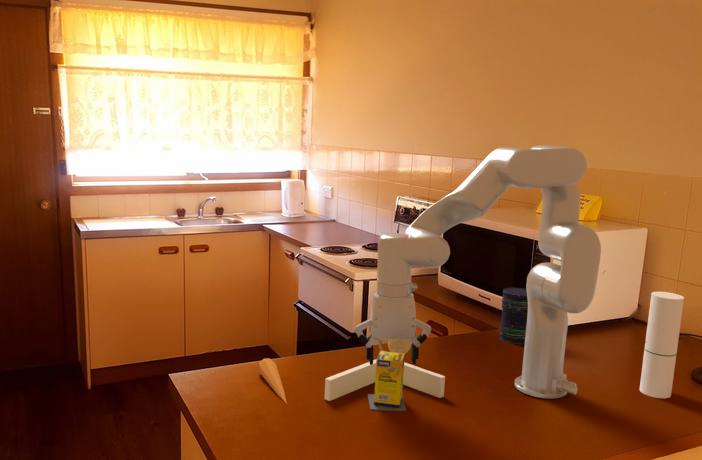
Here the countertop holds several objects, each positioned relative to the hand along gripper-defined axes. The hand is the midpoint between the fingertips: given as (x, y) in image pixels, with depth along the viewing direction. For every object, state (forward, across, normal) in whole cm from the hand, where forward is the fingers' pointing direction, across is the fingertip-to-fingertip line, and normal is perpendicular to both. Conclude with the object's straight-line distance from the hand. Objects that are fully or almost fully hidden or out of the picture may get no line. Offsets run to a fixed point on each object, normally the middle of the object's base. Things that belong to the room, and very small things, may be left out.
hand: (392, 362), depth 146 cm
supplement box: (+10, +1, 0) cm, 10 cm away
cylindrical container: (+12, -67, -9) cm, 69 cm away
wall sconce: (+10, -2, -27) cm, 29 cm away
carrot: (+9, +27, -7) cm, 30 cm away
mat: (+10, +1, 0) cm, 10 cm away
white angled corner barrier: (+10, +1, -2) cm, 10 cm away
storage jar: (+12, -44, -48) cm, 66 cm away
